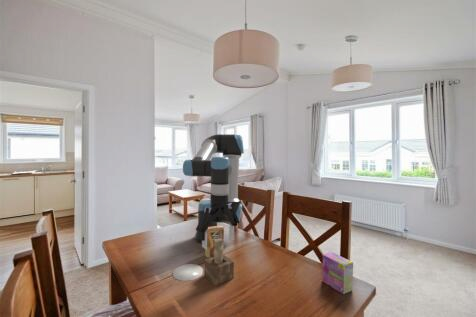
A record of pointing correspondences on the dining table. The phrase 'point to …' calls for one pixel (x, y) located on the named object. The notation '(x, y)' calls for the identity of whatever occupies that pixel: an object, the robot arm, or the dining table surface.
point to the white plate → (187, 272)
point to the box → (337, 272)
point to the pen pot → (219, 270)
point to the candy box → (213, 239)
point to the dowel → (218, 251)
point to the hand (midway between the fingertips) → (218, 243)
